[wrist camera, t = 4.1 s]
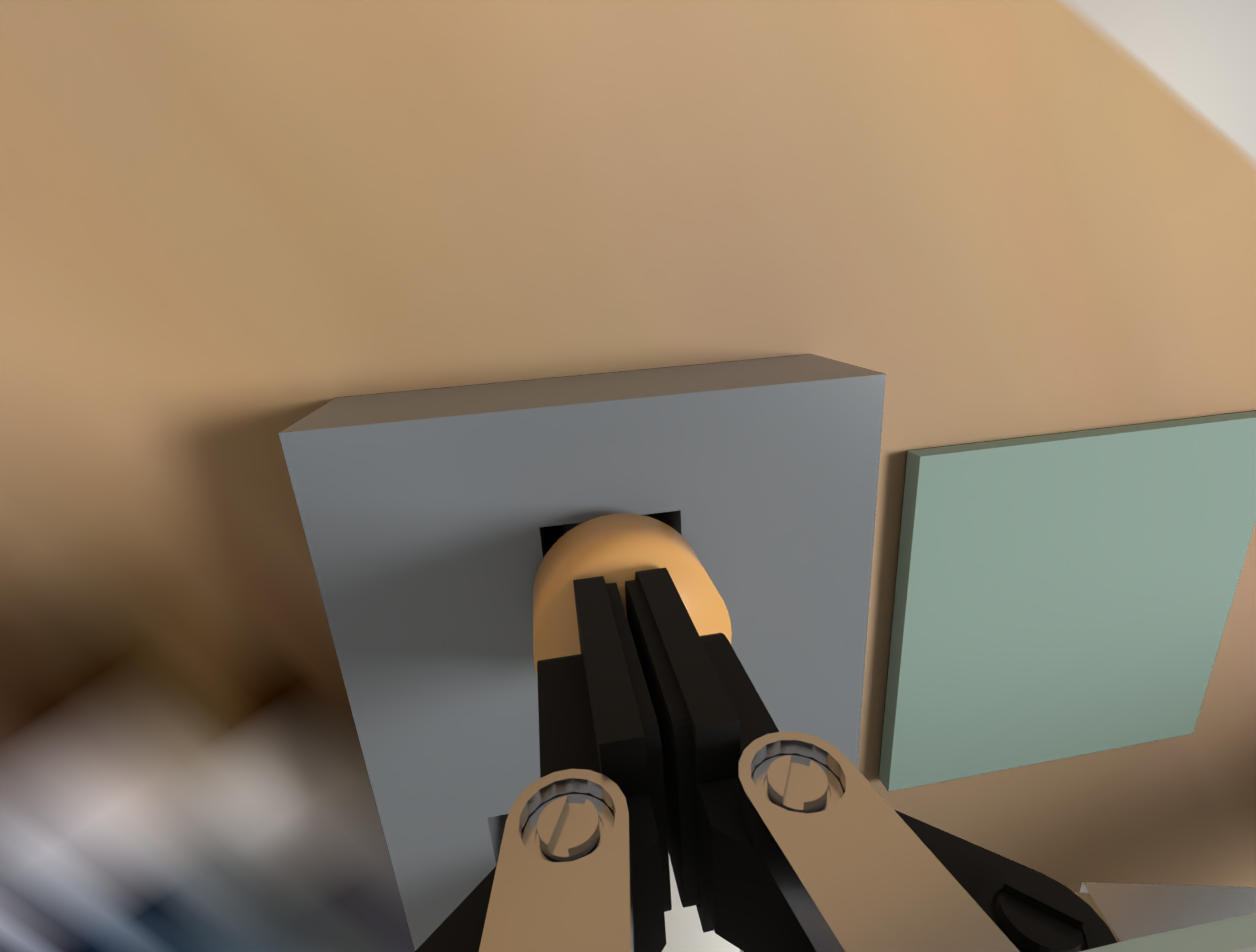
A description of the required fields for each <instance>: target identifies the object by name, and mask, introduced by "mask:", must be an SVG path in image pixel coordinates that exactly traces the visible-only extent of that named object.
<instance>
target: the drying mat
mask: <svg viewBox="0 0 1256 952" xmlns="http://www.w3.org/2000/svg"><path fill="white" fill-rule="evenodd" d="M1255 523H1256V411H1249V412H1240V413H1231V414H1223V415H1214V416H1205V417H1197V418H1188V419H1179V420H1171V421H1162V422H1153V423H1144V424H1136V425H1127V426H1118V427H1110V428H1101V429H1092V430H1084V431H1075V432H1066V433H1058V434H1049V435H1040V436H1032V437H1023V438H1014V439H1006V440H997V441H988V442H980V443H971V444H962V445H953V446H945V447H936V448H927V449H919V450H910V451H907V463H906V474H905V486H904V497H903V508H902V520H901V531H900V542H899V554H898V565H897V577H896V588H895V599H894V611H893V622H892V633H891V645H890V656H889V668H888V679H887V690H886V702H885V713H884V724H883V736H882V747H881V758H880V770H879V779H880V781H881V782H882V783H883V785H884V786H885V788H886V789H887V791H888V792H890V791H895V790H901V789H906V788H911V787H916V786H922V785H927V784H932V783H937V782H942V781H948V780H953V779H958V778H963V777H969V776H974V775H979V774H984V773H990V772H995V771H1000V770H1005V769H1010V768H1016V767H1021V766H1026V765H1031V764H1037V763H1042V762H1047V761H1052V760H1058V759H1063V758H1068V757H1073V756H1078V755H1084V754H1089V753H1094V752H1099V751H1105V750H1110V749H1115V748H1120V747H1126V746H1131V745H1136V744H1141V743H1146V742H1152V741H1157V740H1162V739H1167V738H1173V737H1178V736H1183V735H1188V734H1193V732H1194V729H1195V726H1196V722H1197V719H1198V715H1199V712H1200V709H1201V705H1202V702H1203V698H1204V695H1205V692H1206V688H1207V685H1208V682H1209V678H1210V675H1211V671H1212V668H1213V665H1214V661H1215V658H1216V655H1217V651H1218V648H1219V644H1220V641H1221V638H1222V634H1223V631H1224V627H1225V624H1226V621H1227V617H1228V614H1229V611H1230V607H1231V604H1232V600H1233V597H1234V594H1235V590H1236V587H1237V583H1238V580H1239V577H1240V573H1241V570H1242V567H1243V563H1244V560H1245V556H1246V553H1247V550H1248V546H1249V543H1250V540H1251V536H1252V533H1253V529H1254V526H1255Z"/></svg>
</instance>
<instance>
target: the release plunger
mask: <svg viewBox="0 0 1256 952" xmlns="http://www.w3.org/2000/svg"><path fill="white" fill-rule="evenodd" d="M562 527H563V536H562V537H561V538H559V540H558V541H557V542H556V543H555V544H554V545H553V546H552V547H551V548H550V549H549V551H548V552H547V553H546V555H545V557H544V558H543V560H542V562H541V564H540V566H539V568H538V571H537V573H536V577H535V581H534V587H533V654H534V665H535V670H536V674H537V662H538V661H539V660H545V659H552V658H558V657H565V656H571V655H578V654H581V650H580V640H579V631H578V622H577V613H576V604H575V594H574V585H573V580H577V579H585V578H592V577H599V576H603V577H604V580H605V584H608V583H615V582H616V583H617V586H618V589H619V593H620V596H621V600H622V603H623V606H624V610H625V613H626V617H627V608H626V595H625V581H629V580H635V572H636V571H643V570H651V569H658V568H667V570H668V572H669V574H670V576H671V578H672V580H673V582H674V584H675V586H676V589H677V591H678V593H679V595H680V597H681V599H682V601H683V603H684V605H685V607H686V609H687V611H688V613H689V615H690V617H691V620H692V622H693V624H694V626H695V628H696V630H697V632H698V634H699V636H702V635H709V634H715V633H723V634H724V635H725V636H726V637H727V639H728V640H729V642H730V644H731V636H732V631H731V621H730V617H729V613H728V610H727V608H726V605H725V603H724V601H723V599H722V597H721V596H720V594H719V592H718V591H717V589H716V587H715V586H714V584H713V582H712V581H711V579H710V577H709V576H708V574H707V572H706V571H705V569H704V567H703V566H702V564H701V562H700V561H699V559H698V557H697V556H696V554H695V553H694V551H693V549H692V548H691V546H690V544H689V543H688V542H687V541H686V540H685V538H684V537H683V536H682V535H681V534H679V533H678V532H677V531H676V530H675V529H673V528H672V527H670V526H669V525H667V524H665V523H663V522H661V521H659V520H657V519H654V518H651V517H650V516H649V514H646V515H638V514H627V513H622V514H610V515H605V516H600V517H597V518H594V519H591V520H588V521H586V522H581V523H572V524H564V525H562ZM537 677H538V676H537Z"/></svg>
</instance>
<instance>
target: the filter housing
mask: <svg viewBox="0 0 1256 952" xmlns="http://www.w3.org/2000/svg"><path fill="white" fill-rule="evenodd" d="M885 377H886V374H884V373H880V372H876V371H873V370H869V369H865V368H862V367H858V366H854V365H850V364H847V363H843V362H839V361H836V360H832V359H828V358H824V357H821V356H817V355H813V354H808V355H797V356H786V357H775V358H764V359H753V360H742V361H731V362H720V363H709V364H698V365H687V366H676V367H665V368H654V369H644V370H633V371H622V372H611V373H600V374H589V375H578V376H567V377H556V378H545V379H534V380H523V381H512V382H501V383H491V384H480V385H469V386H458V387H447V388H436V389H425V390H414V391H403V392H392V393H381V394H370V395H359V396H348V397H337V398H335V399H333V400H331V401H330V402H328V403H327V404H325V405H323V406H322V407H320V408H318V409H317V410H315V411H314V412H312V413H310V414H309V415H307V416H305V417H304V418H302V419H301V420H299V421H297V422H296V423H294V424H292V425H291V426H289V427H288V428H286V429H284V430H283V431H281V432H279V433H278V434H279V438H280V441H281V445H282V449H283V453H284V456H285V460H286V464H287V468H288V472H289V475H290V479H291V483H292V487H293V491H294V494H295V498H296V502H297V506H298V510H299V513H300V517H301V521H302V525H303V529H304V532H305V536H306V540H307V544H308V548H309V551H310V555H311V559H312V563H313V567H314V570H315V574H316V578H317V582H318V585H319V589H320V593H321V597H322V601H323V604H324V608H325V612H326V616H327V620H328V623H329V627H330V631H331V635H332V639H333V642H334V646H335V650H336V654H337V658H338V661H339V665H340V669H341V673H342V677H343V680H344V684H345V688H346V692H347V696H348V699H349V703H350V707H351V711H352V714H353V718H354V722H355V726H356V730H357V733H358V737H359V741H360V745H361V749H362V752H363V756H364V760H365V764H366V768H367V771H368V775H369V779H370V783H371V787H372V790H373V794H374V798H375V802H376V806H377V809H378V813H379V817H380V821H381V825H382V828H383V832H384V836H385V840H386V843H387V847H388V851H389V855H390V859H391V862H392V866H393V870H394V874H395V878H396V881H397V885H398V889H399V893H400V897H401V900H402V904H403V908H404V912H405V916H406V919H407V923H408V927H409V931H410V935H411V938H412V942H413V946H414V950H415V951H416V950H417V949H418V948H419V947H420V946H421V945H422V944H423V943H424V942H425V940H426V939H427V938H428V937H429V936H430V935H431V934H432V933H433V932H434V931H435V930H436V929H437V928H438V927H439V926H440V925H441V924H442V923H443V921H444V920H445V919H446V918H447V917H448V916H449V915H450V914H451V913H452V912H453V911H454V910H455V909H456V908H457V907H458V906H459V905H460V904H461V902H462V901H463V900H464V899H465V898H466V897H467V896H468V895H469V894H470V893H471V892H472V891H473V890H474V889H475V888H476V887H477V886H478V885H479V883H480V882H481V881H482V880H483V879H484V878H485V877H486V876H487V875H488V874H489V873H490V872H491V871H492V870H493V869H494V868H495V867H496V866H497V862H498V857H499V852H500V848H501V843H502V838H503V833H504V828H505V824H506V820H507V817H508V814H509V812H510V809H511V807H512V804H513V803H514V802H515V800H516V799H517V798H518V797H519V795H520V794H521V793H522V791H523V790H524V789H526V788H527V787H528V786H530V785H531V784H532V783H534V782H535V781H536V780H538V779H540V747H539V711H538V677H537V674H536V670H535V665H534V654H533V587H534V581H535V577H536V573H537V571H538V568H539V566H540V564H541V562H542V560H543V558H544V557H545V555H546V553H547V551H546V543H545V534H544V527H548V526H556V525H564V524H572V523H581V522H586V521H588V520H591V519H594V518H597V517H600V516H605V515H610V514H622V513H627V514H638V515H646V514H653V518H654V519H657V520H659V521H661V522H663V523H665V524H667V525H669V526H670V527H672V528H673V529H675V530H676V531H677V532H678V533H679V534H681V535H682V536H683V537H684V538H685V540H686V541H687V542H688V543H689V544H690V546H691V548H692V549H693V551H694V553H695V554H696V556H697V557H698V559H699V561H700V562H701V564H702V566H703V567H704V569H705V571H706V572H707V574H708V576H709V577H710V579H711V581H712V582H713V584H714V586H715V587H716V589H717V591H718V592H719V594H720V596H721V597H722V599H723V601H724V603H725V605H726V608H727V610H728V613H729V617H730V621H731V631H732V636H731V646H732V648H733V649H734V651H735V653H736V655H737V657H738V658H739V660H740V662H741V664H742V665H743V667H744V669H745V671H746V673H747V674H748V676H749V678H750V680H751V682H752V683H753V685H754V687H755V689H756V691H757V692H758V694H759V696H760V698H761V700H762V701H763V703H764V705H765V707H766V709H767V710H768V712H769V714H770V716H771V717H772V719H773V721H774V723H775V725H776V726H777V728H778V730H779V732H782V731H788V732H801V733H805V734H808V735H812V736H816V737H819V738H820V739H822V740H824V741H826V742H828V743H830V744H832V745H834V746H835V747H836V748H837V749H838V750H840V751H841V752H842V753H843V754H844V755H845V756H846V757H847V758H848V759H849V760H850V761H851V762H852V763H853V764H854V765H855V767H856V768H857V763H858V749H859V736H860V722H861V708H862V694H863V680H864V667H865V653H866V639H867V625H868V611H869V598H870V584H871V570H872V556H873V543H874V529H875V515H876V501H877V487H878V474H879V460H880V446H881V432H882V418H883V405H884V391H885Z"/></svg>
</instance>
